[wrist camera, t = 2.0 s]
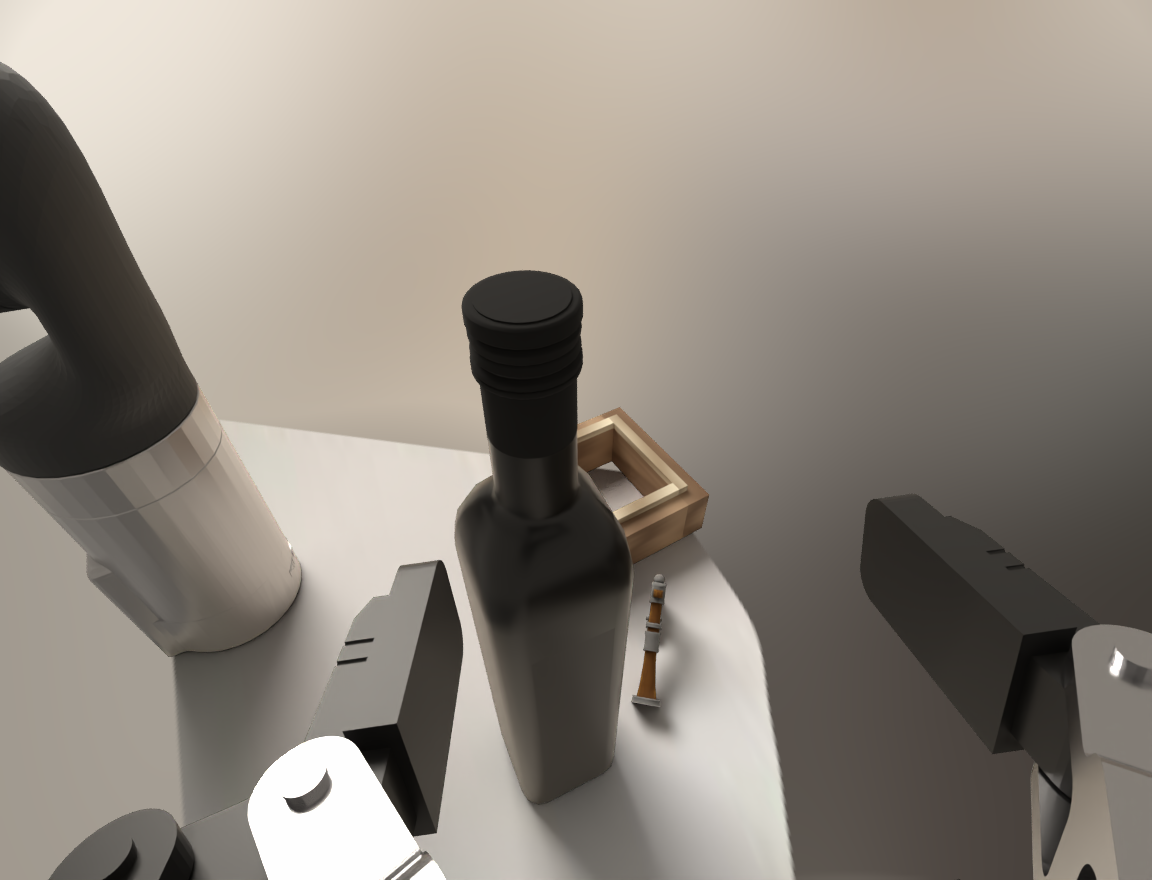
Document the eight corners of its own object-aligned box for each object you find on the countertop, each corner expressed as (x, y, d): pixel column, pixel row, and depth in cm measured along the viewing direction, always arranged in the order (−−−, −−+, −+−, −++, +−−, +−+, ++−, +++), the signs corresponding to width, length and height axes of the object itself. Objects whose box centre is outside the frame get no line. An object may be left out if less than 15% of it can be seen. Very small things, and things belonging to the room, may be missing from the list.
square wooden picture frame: (573, 596, 42) (573, 559, 39) (501, 490, 50) (495, 452, 47) (701, 527, 47) (710, 489, 44) (617, 440, 54) (620, 402, 51)
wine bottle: (496, 718, 36) (383, 270, 15) (578, 680, 38) (577, 230, 17) (530, 814, 32) (441, 391, 12) (620, 766, 34) (681, 324, 13)
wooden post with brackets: (669, 584, 42) (674, 574, 38) (657, 705, 39) (661, 707, 35) (644, 581, 42) (646, 569, 38) (630, 700, 39) (631, 702, 35)
